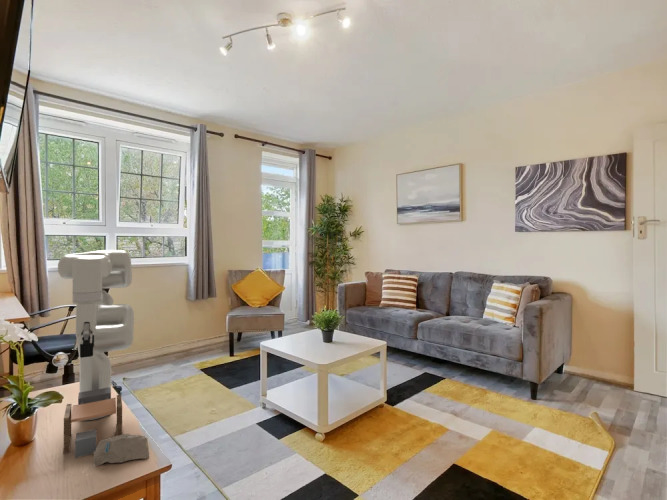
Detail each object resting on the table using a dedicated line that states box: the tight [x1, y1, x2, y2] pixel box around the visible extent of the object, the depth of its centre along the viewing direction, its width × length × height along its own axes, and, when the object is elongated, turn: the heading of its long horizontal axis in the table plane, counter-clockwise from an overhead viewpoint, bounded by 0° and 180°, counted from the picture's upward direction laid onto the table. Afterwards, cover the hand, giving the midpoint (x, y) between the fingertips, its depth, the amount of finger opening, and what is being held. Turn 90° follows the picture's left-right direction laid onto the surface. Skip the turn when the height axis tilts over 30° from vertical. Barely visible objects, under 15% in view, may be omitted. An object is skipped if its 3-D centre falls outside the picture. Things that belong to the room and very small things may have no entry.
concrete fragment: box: [92, 433, 150, 467], centre depth 104 cm, size 7×14×6 cm, turn 104°
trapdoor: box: [71, 386, 117, 424], centre depth 116 cm, size 14×12×3 cm
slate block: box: [74, 428, 97, 459], centre depth 106 cm, size 5×5×5 cm
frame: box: [62, 394, 123, 454], centre depth 113 cm, size 10×15×10 cm
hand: (87, 352), depth 110 cm, fingers open, 9 cm apart
